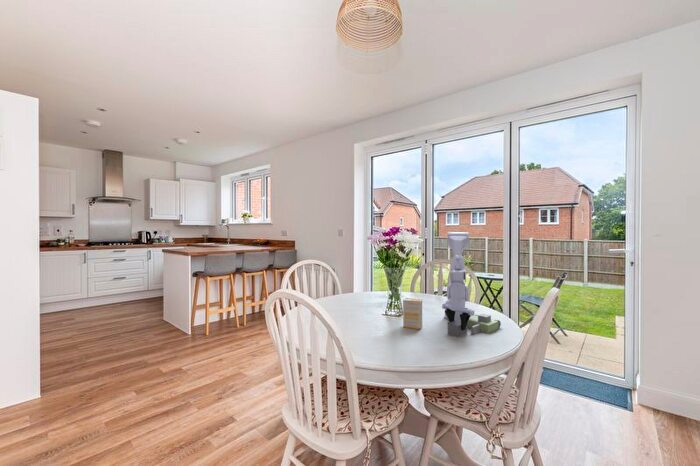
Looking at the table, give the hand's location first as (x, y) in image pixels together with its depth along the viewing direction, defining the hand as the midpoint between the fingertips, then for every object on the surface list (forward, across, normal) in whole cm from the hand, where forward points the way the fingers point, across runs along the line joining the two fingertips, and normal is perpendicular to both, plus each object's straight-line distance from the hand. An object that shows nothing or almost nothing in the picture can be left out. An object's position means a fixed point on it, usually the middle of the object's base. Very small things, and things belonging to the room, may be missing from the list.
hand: (457, 328), depth 135 cm
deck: (+3, +2, +14) cm, 14 cm away
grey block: (+3, 0, 0) cm, 3 cm away
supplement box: (+3, -18, -8) cm, 20 cm away
